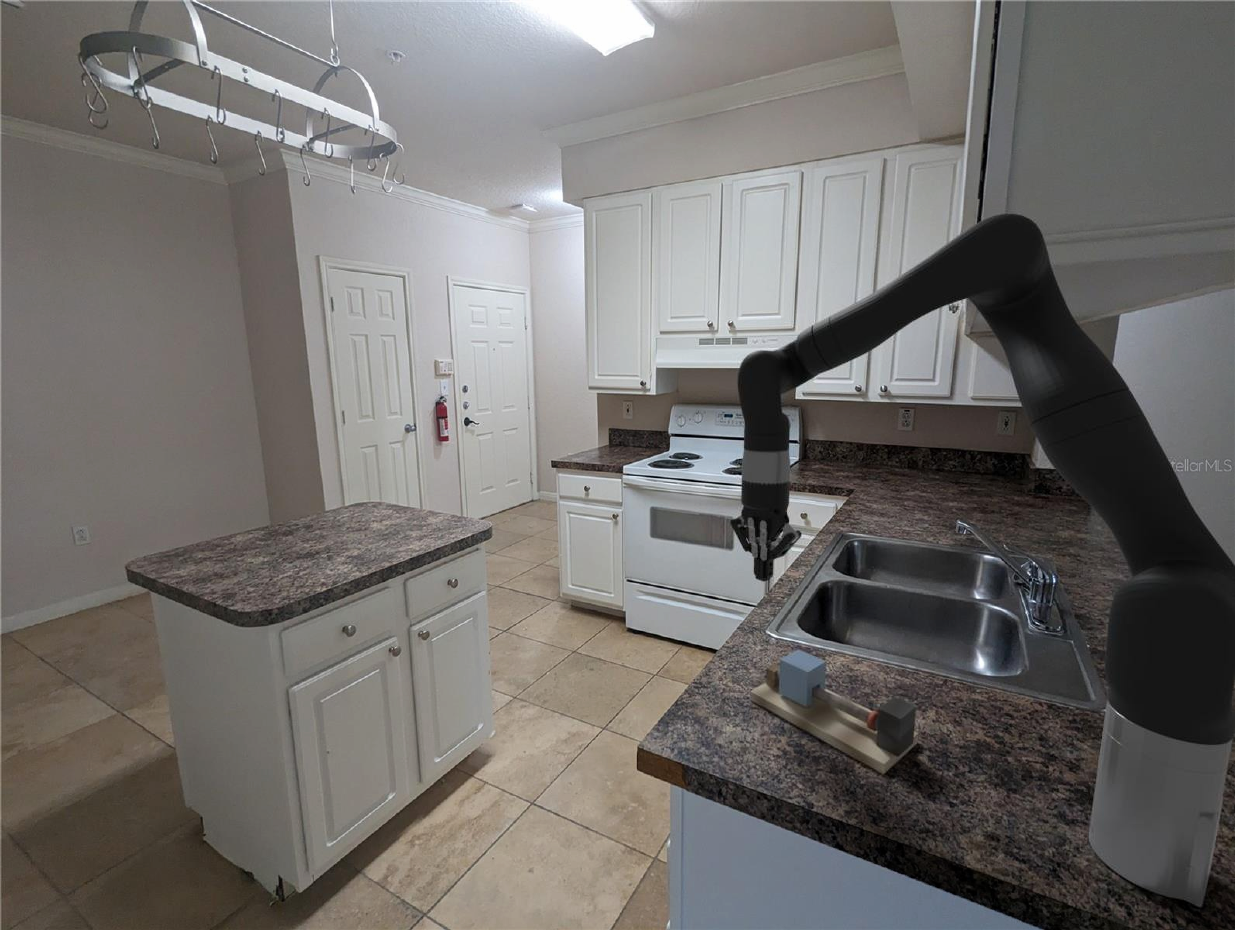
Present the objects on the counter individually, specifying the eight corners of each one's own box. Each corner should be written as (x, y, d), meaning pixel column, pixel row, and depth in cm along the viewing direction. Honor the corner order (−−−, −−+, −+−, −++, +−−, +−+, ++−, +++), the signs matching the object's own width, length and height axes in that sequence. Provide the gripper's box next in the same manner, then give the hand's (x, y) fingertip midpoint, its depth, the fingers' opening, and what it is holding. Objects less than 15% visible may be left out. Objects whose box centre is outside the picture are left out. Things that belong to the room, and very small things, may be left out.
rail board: (921, 744, 78) (925, 698, 77) (887, 776, 72) (890, 727, 71) (786, 678, 96) (788, 640, 95) (750, 699, 90) (751, 659, 89)
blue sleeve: (824, 695, 87) (826, 661, 86) (806, 707, 84) (807, 672, 83) (797, 681, 91) (798, 649, 90) (778, 692, 88) (779, 659, 87)
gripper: (815, 479, 86) (811, 585, 88) (747, 469, 96) (745, 564, 99) (786, 486, 81) (783, 597, 84) (718, 474, 91) (717, 574, 94)
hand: (763, 579), depth 91 cm, fingers closed
